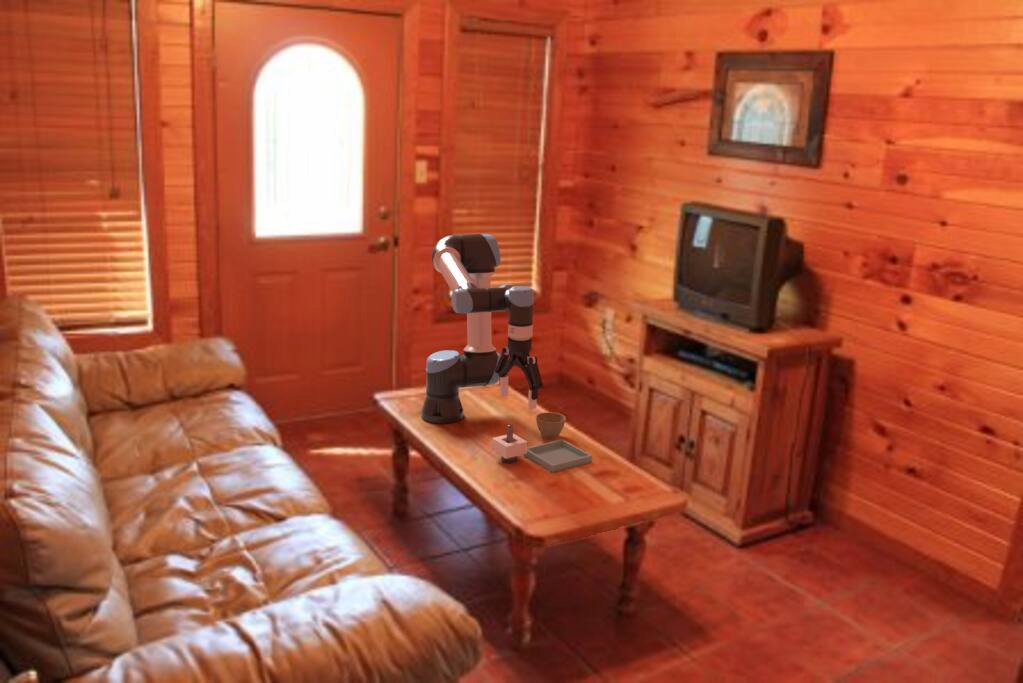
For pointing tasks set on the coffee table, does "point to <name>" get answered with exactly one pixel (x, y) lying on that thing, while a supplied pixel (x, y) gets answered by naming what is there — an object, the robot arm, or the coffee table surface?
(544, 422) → the flower pot
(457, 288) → the robot arm
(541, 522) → the coffee table surface
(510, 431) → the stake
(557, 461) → the tray
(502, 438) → the ring
